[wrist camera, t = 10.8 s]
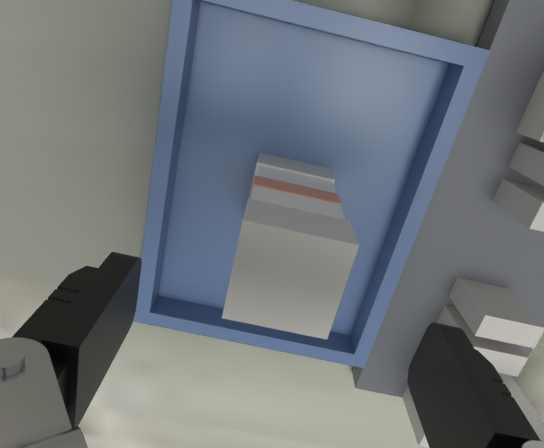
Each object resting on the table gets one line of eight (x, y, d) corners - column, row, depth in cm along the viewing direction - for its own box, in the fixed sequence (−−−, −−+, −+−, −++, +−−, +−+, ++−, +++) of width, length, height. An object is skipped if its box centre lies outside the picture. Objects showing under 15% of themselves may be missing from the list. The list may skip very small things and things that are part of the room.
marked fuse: (259, 152, 21) (242, 219, 13) (330, 168, 22) (359, 245, 13) (244, 218, 23) (221, 318, 14) (311, 233, 23) (327, 339, 15)
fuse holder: (496, -5, 19) (563, -21, 14) (679, 44, 20) (801, 43, 15) (351, 370, 27) (365, 436, 23) (483, 397, 28) (522, 466, 23)
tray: (189, -21, 19) (176, -30, 17) (466, 50, 20) (490, 50, 18) (147, 296, 26) (133, 321, 23) (357, 340, 27) (363, 368, 24)
